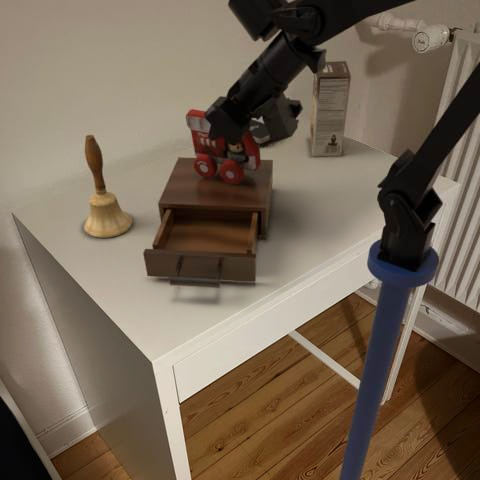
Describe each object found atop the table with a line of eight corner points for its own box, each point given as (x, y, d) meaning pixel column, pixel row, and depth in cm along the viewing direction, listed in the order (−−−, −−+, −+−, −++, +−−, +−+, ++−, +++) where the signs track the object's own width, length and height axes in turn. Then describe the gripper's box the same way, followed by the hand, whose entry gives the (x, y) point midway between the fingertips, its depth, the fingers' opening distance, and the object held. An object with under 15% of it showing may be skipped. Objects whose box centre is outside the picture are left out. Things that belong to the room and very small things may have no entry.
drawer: (252, 301, 72) (252, 277, 69) (140, 294, 73) (135, 271, 70) (263, 224, 86) (263, 202, 83) (169, 221, 87) (166, 198, 85)
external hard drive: (246, 125, 119) (246, 117, 117) (282, 138, 113) (282, 129, 112) (225, 134, 115) (225, 126, 114) (261, 148, 109) (261, 139, 108)
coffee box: (308, 138, 113) (314, 60, 102) (337, 138, 112) (346, 60, 101) (312, 157, 106) (318, 76, 95) (342, 156, 106) (352, 75, 95)
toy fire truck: (251, 189, 84) (244, 134, 76) (187, 175, 89) (174, 121, 80) (268, 164, 88) (263, 109, 79) (206, 151, 92) (195, 98, 84)
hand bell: (124, 208, 93) (106, 121, 82) (138, 230, 87) (121, 140, 76) (79, 220, 90) (55, 132, 79) (91, 243, 85) (66, 152, 74)
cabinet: (265, 239, 84) (266, 207, 80) (162, 235, 86) (157, 203, 82) (272, 190, 96) (273, 159, 92) (181, 187, 98) (178, 157, 94)
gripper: (295, 138, 69) (227, 199, 80) (327, 87, 81) (264, 146, 92) (237, 74, 66) (174, 146, 76) (280, 31, 78) (220, 99, 89)
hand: (213, 135), depth 83 cm, fingers closed on toy fire truck, 2 cm apart
